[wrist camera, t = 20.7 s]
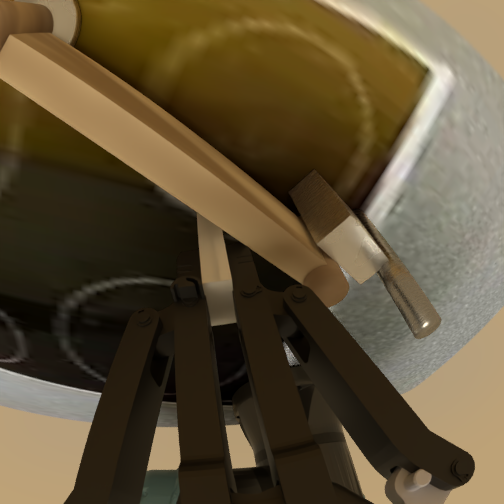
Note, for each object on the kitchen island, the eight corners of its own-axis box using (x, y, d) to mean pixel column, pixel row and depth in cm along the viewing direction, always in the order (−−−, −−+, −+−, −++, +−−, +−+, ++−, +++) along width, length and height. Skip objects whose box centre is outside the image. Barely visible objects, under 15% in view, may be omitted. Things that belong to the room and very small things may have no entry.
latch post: (340, 242, 24) (402, 353, 16) (288, 192, 21) (351, 315, 12) (368, 218, 23) (444, 323, 15) (320, 163, 20) (408, 271, 11)
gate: (291, 255, 22) (323, 339, 17) (-5, 48, 10) (-92, 72, 4) (328, 222, 21) (375, 301, 15) (26, -4, 8) (-59, -9, 2)
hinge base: (44, 93, 14) (36, 96, 13) (-12, 54, 10) (-20, 56, 10) (101, 12, 11) (95, 10, 11) (38, -25, 8) (31, -27, 8)
